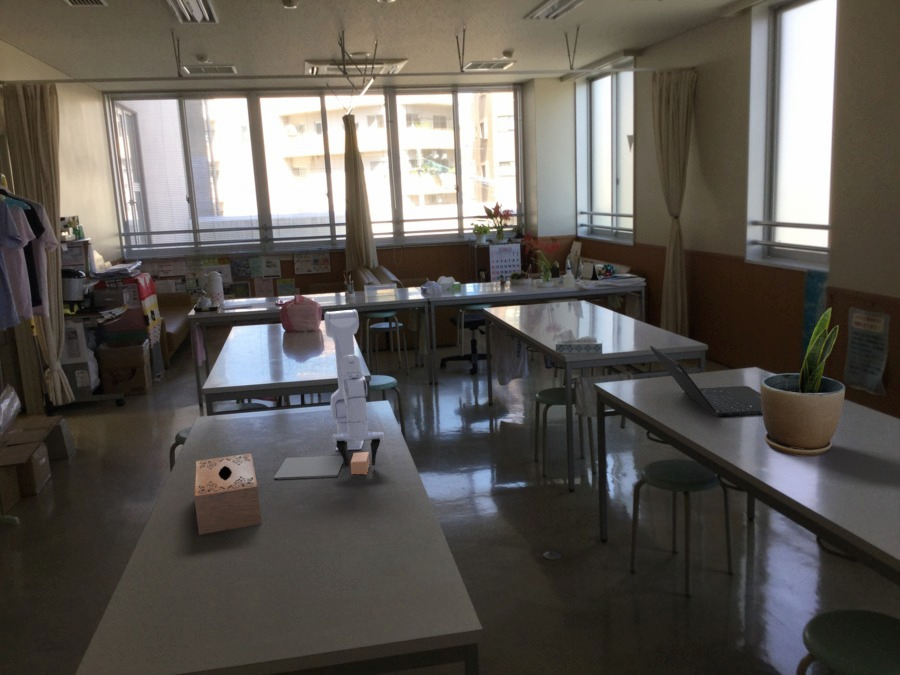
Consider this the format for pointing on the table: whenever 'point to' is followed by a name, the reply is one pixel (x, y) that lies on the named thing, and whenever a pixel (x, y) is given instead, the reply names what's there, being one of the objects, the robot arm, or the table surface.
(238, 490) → the tissue box cover
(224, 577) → the table surface
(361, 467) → the light orange rectangular block
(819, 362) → the potted plant
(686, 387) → the laptop
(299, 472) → the mat
